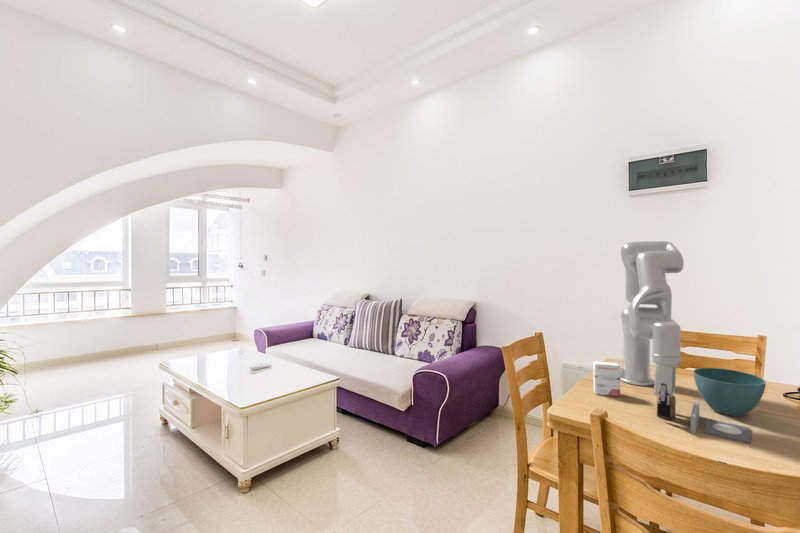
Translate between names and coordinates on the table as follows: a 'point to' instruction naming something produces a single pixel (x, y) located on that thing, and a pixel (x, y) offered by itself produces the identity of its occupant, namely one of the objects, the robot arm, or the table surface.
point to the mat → (727, 430)
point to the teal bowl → (729, 390)
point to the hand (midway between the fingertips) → (665, 411)
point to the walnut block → (672, 408)
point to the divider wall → (695, 416)
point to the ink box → (606, 378)
